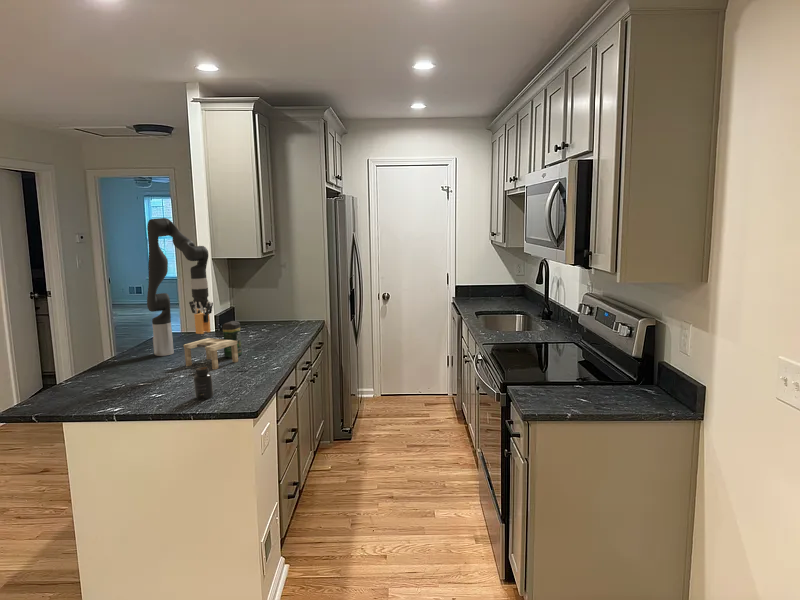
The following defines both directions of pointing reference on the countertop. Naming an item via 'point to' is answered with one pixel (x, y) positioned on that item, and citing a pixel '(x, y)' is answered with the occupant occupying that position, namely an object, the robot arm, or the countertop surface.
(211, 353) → the cream u-shaped stand
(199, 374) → the supplement bottle
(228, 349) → the coffee jar
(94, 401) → the countertop surface
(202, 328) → the tan wooden post
